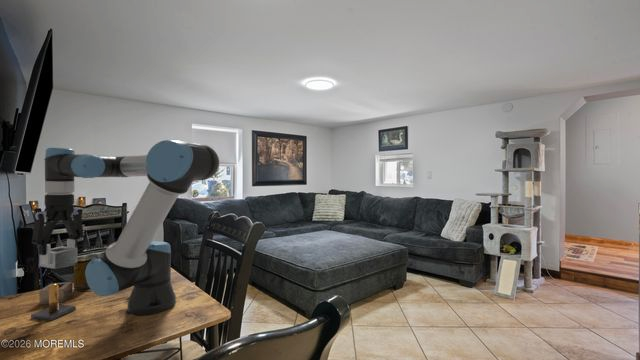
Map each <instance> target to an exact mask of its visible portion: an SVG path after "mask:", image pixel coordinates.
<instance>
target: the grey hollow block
mask: <svg viewBox="0 0 640 360" xmlns="http://www.w3.org/2000/svg"><path fill="white" fill-rule="evenodd" d="M38 255H39V259H38V260H39V262H38V263H39V264H38V265H39V267H42V268H48V269H55V270H56V269H58V268H59V269H60V268H63V267H66V266H70V265H73V264H74V265H75V263H77V260H78V247H76V248H72V247H67V246H63V245H61V246H57V247H53V248H51V253H50V264H49V265H45V264H42V255H40V254H38Z"/></svg>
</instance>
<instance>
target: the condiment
mask: <svg viewBox="0 0 640 360" xmlns="http://www.w3.org/2000/svg"><path fill="white" fill-rule="evenodd" d="M91 261H92V258H91V257H82V258H77V263H74V268H73V288H72V293H77V292H78V293H79V292H91V291H92V290H91V289H90V287H89V286H88V283H87V280H86V276H85V271H86V267H87V265H88V263H89V262H91ZM92 292H93V291H92Z"/></svg>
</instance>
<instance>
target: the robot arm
mask: <svg viewBox="0 0 640 360" xmlns="http://www.w3.org/2000/svg"><path fill="white" fill-rule="evenodd" d="M219 169H220V158H219V155H218V153H217V151H215V150H214V149H213V148H212V147H210V146H208V145H207V144H203V143H194V142H189V141H183V140H179V139H165V140H161V141H158V142H157V143H155V144H153V146H152V147H151V148H150V149H149V150H148V152H147V154H142V155H141V154H140V155H128V156H127V155H126V156H124V155H123V156H111V155H110V156H107V155H95V154H87V153H84V154H76V153H75V149H73V148H67V147H66V148H65V147H47V148H46V149H45V157H44V193H46V194H45V195H44V206H45V208H44V210H43V211H41V212H35V213H33V218H34V223H33V231H32V238H31V244H32V245H38V246H39V247H38V251H39V252H38V253H39V254H40V255H42V264H45V265H49V264H50V253H51V249H52V248H51V244H49V242H50V239H51V236H52V234H53V232H54V229H55V227H56V225H57V224H58V222H62V223H63V225H64V227H65V230H66V232H67V234H68V237H69V238H66V247H72V248H78V240H79V239H80V238H81V237H83V236H84V226H83V217H82V215H83V211H84V210H83V209H82V208H74V204H75V194H74V193H75V178H83V179H95V178H131V177H147V179H148V185H147V186H146V188H145V190H144V192H143V193H142V196H141V198H140V199H139V200H138V203H137V204H136V207H135V208H134V210H133V211H132V214H131V215H130V217H129V219H128V221H127V223H126V224H125V225H124V227H123V230H122V231H121V233H120V235H119V236H118V239H117V241H116V242H113V243H111V244H109V245H108V246H107V247H106V248H105V251H104V252H103V254H102V256H101V257H100V258H94V259H93V260H92V259H91V262H89V263H88V265H87V267H86V271H85V276H86V280H87V283H88V286H89V287H90V289H91V290H92V293H94V294H95V295H96V296H99V297H109V296H111V295H116V294H118V293H120V292H123V291H125V290H127V289H129V288H132V287H133V288H132V291H131V293H130V297H129V300H128V302H127V312H128V313H129V314H132V315H136V316H147V315H148V316H149V315H153V314H158V313H162V312H164V311H166V310H169V309H170V308H172V307H173V306H174V305H176V300H177V299H176V298H177V297H176V293H175V291H174V289H173V285H172V281H171V277H172V275H171V274H172V273H171V270H172V269H171V268H172V264H171V263H172V250H171V244H170V243H169V242H166V241H158V240H154V239H155V237H156V235H157V233H158V232H159V230H160V228H161V226H162V225H163V223H164V222H165V219H166V217H168V214H169V212H170V210H171V209H172V208H173V206H174V204H175V203H176V201H177V199H178V197H179V196H180V195H185V194H186V193H188V191H189V188H190V187H191V185H192V184H193V182H197V181H205V180H208V179H211V178H212V177H213V176H215V174H216V173H217V172H218V170H219ZM46 217H47V218H46ZM45 219H46V221H45ZM153 240H154V241H153ZM39 254H38V255H39Z"/></svg>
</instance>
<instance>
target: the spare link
mask: <svg viewBox="0 0 640 360" xmlns="http://www.w3.org/2000/svg"><path fill="white" fill-rule="evenodd" d="M52 284H57V285H58V286H59V304H60V303H64V302H65V301H67V299H69V298H70V297H71V296H73V292H72V289H73V282H72V281H67V282H56V283H49V284H48V285H46V286H45V287H43V288H42V289H39V305H49V287H50V286H51V285H52Z"/></svg>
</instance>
